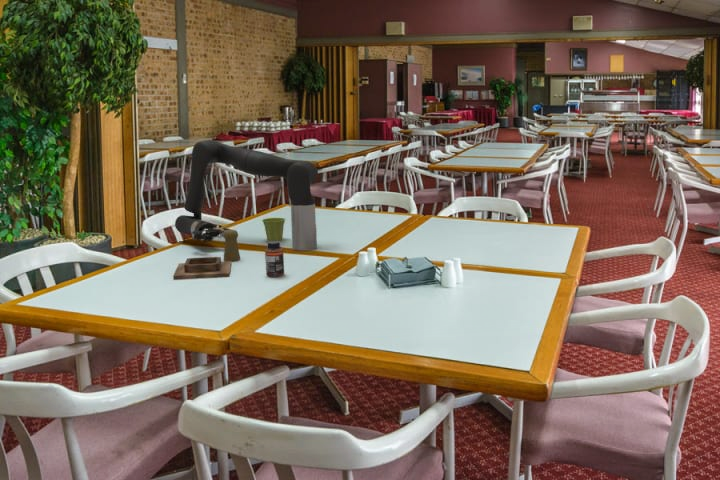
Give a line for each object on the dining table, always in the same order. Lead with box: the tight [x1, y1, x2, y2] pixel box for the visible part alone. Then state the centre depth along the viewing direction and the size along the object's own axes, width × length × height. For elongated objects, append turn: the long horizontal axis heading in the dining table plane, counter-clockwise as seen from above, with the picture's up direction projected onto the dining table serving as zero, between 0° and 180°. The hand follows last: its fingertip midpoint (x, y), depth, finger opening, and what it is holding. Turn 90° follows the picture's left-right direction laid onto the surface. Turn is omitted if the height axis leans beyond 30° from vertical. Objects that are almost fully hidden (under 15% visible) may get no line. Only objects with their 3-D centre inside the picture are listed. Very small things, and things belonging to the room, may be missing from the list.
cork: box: [223, 229, 241, 263], centre depth 270 cm, size 6×6×11 cm
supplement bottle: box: [264, 241, 285, 278], centre depth 247 cm, size 6×6×11 cm
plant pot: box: [261, 217, 286, 242], centre depth 304 cm, size 9×9×9 cm
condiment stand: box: [172, 256, 232, 280], centre depth 254 cm, size 18×18×4 cm
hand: (219, 237), depth 279 cm, fingers open, 8 cm apart
